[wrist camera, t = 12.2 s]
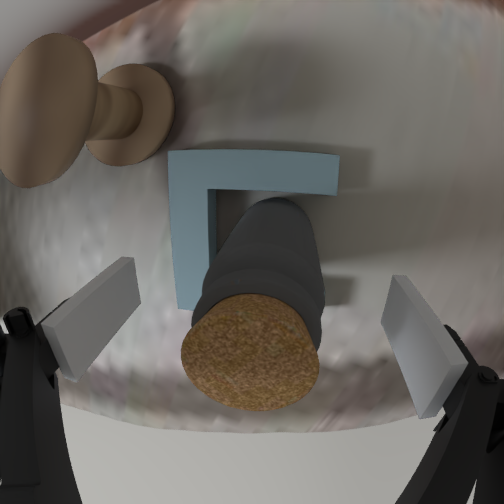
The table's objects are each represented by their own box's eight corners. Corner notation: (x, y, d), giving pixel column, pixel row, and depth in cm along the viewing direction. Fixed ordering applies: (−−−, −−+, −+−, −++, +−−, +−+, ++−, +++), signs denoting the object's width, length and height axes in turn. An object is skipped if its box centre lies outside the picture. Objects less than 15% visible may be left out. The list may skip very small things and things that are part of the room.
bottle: (324, 247, 23) (360, 393, 9) (262, 278, 24) (226, 430, 10) (289, 183, 21) (284, 261, 7) (225, 219, 23) (132, 333, 9)
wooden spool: (90, 168, 23) (-6, 193, 12) (91, 78, 19) (-2, 64, 9) (174, 162, 22) (82, 182, 11) (177, 58, 18) (94, 9, 8)
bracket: (186, 295, 26) (177, 308, 24) (180, 150, 21) (168, 150, 19) (318, 306, 25) (320, 322, 22) (334, 154, 20) (339, 155, 18)
